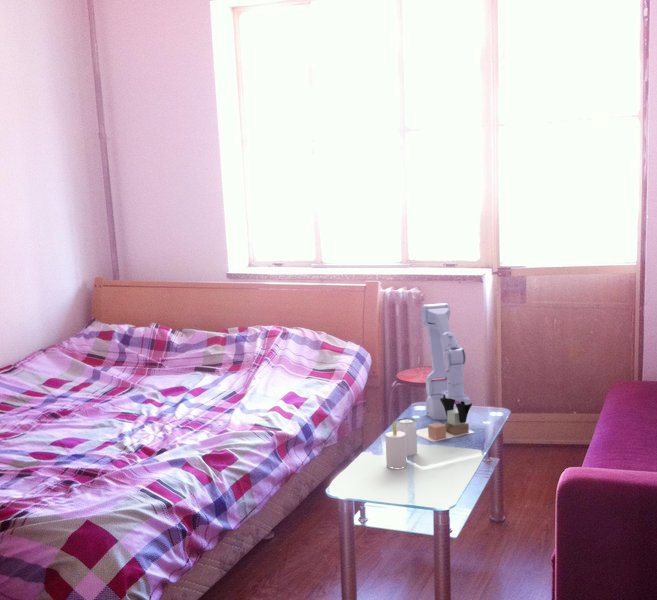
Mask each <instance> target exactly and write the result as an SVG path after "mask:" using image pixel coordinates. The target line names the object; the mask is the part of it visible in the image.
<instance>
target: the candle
mask: <svg viewBox="0 0 657 600" xmlns="http://www.w3.org/2000/svg"><path fill="white" fill-rule="evenodd" d="M384 437H385V455H386V458H385V459H386V461H385V462H386V467H387V466H389V467H393V468H402V467H405V466H406V467H407V459H406V458H407V456H406V440H405V433H404V432H401V431H397V423H396V421H395V420H394V421H393V423H392V431H388V432H386V433H385V436H384ZM406 467H405V468H406Z"/></svg>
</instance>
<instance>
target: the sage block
mask: <svg viewBox="0 0 657 600" xmlns="http://www.w3.org/2000/svg"><path fill="white" fill-rule="evenodd" d="M446 420H447V422H448V423H449V424H452V425H454V426H456V425H461V424H465V423H466V422H465V423H460V421H459V413H458V409H457V408H455V409H453V410H449V411H447V419H446Z"/></svg>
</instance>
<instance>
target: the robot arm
mask: <svg viewBox="0 0 657 600" xmlns="http://www.w3.org/2000/svg"><path fill="white" fill-rule="evenodd" d="M420 312H421V313H420V314H421V323H422V327H424V328H426V330H427V334H428V343H429V345H428V346H429V353H430V361H431V372H430V373H428V374H427V375H426V377H425V392H426V394H427V397H426V399H425V410H426V411H425V412H426V414H425V415H426V416H428V417H429V418H431V419H432V420H437V421H441V420H442V421H443V420H445V421H446V420H447V411H449V410H453V409H454V407H456V409H458V413H459V421H460V423H467V418H468V414H469V411H470V409H471V407H472V406H473V403H472V402H471V401H472V399H471V398H469V397H468V395H466V394H465V393H464V392H465V387H464V365H465V364H466V353H465V349H464V348H463V347H462V346H461V345H460V344H459V342H458V340H457V337H456V334H455V333H454V332H452V331H451V328H450V324H449V321H450V317H451V307H450V305H449V304H448V303H447V302H444V303H434V304H433V303H432V304H430V303H429V304H422V306H421V311H420ZM455 402H459V403H455Z"/></svg>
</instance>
